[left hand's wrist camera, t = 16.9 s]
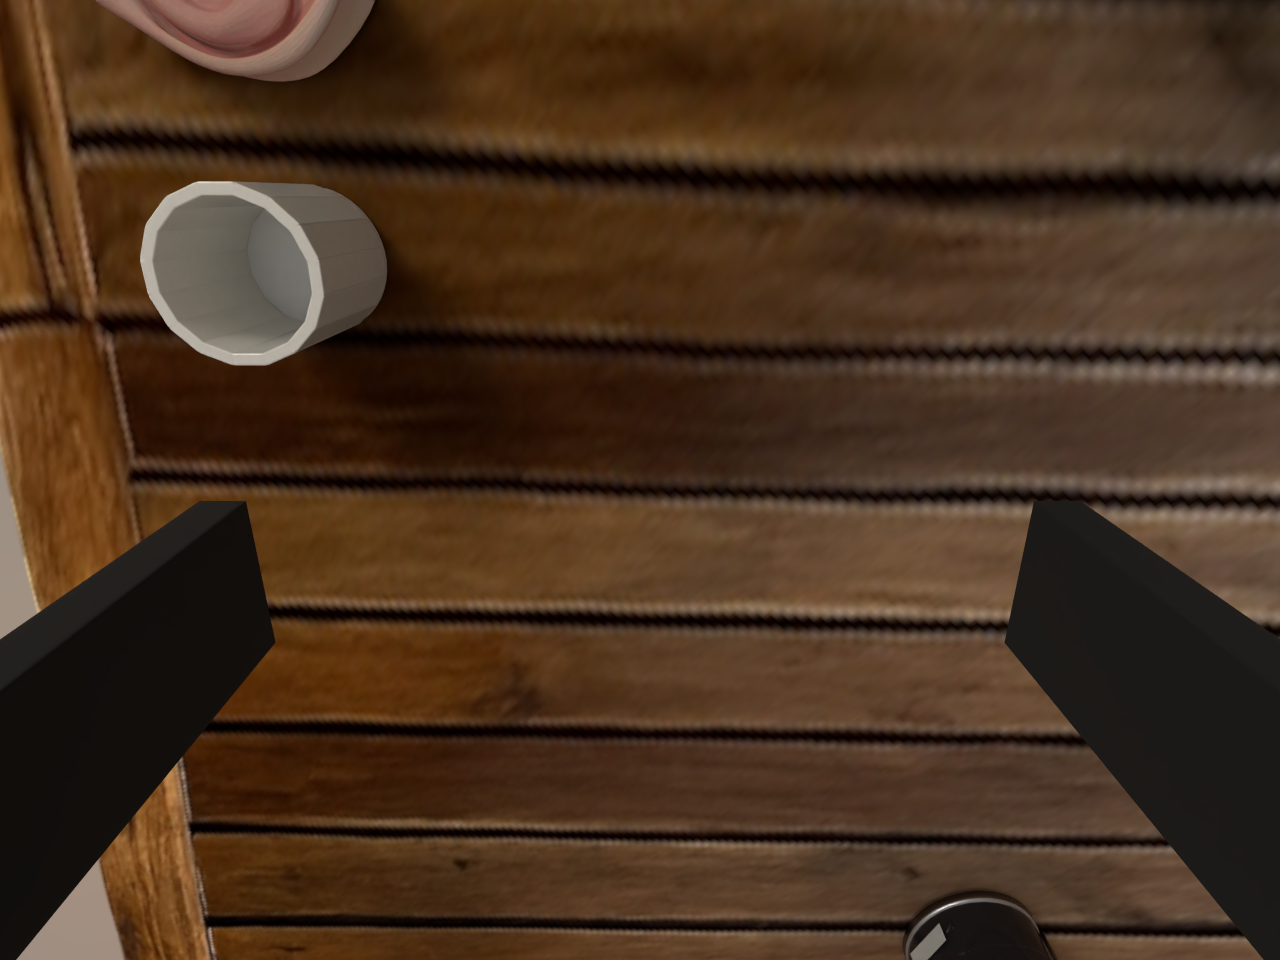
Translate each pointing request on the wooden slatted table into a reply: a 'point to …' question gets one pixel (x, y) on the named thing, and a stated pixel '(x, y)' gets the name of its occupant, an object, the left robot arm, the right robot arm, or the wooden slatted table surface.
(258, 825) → the wooden slatted table surface
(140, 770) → the left robot arm
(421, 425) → the wooden slatted table surface
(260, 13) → the anatomical model
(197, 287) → the white cup
